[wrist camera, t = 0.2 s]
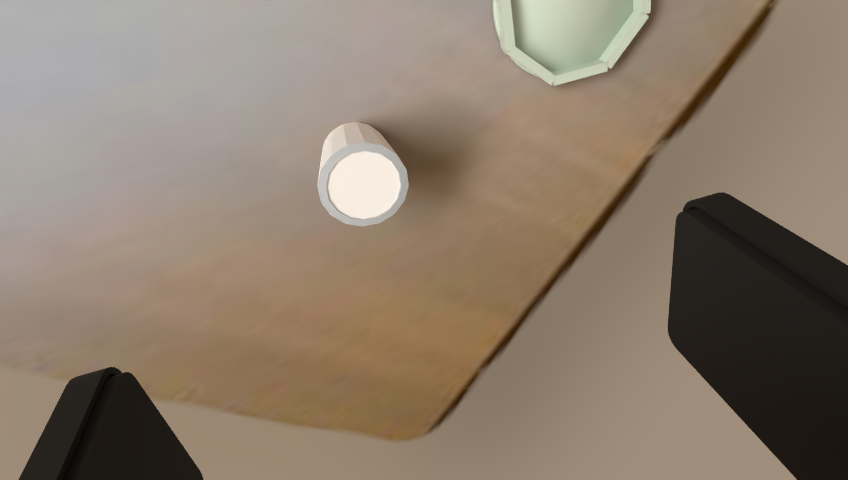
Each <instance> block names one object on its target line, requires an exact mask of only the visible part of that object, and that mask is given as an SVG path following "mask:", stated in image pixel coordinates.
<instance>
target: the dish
mask: <svg viewBox="0 0 848 480" xmlns="http://www.w3.org/2000/svg"><path fill="white" fill-rule="evenodd" d="M648 13H651V0H492V15H493V22H494V27H495V31H496V34H497V37H498V39H499V41H500V44H501V49H503V50H504V51H503V52H504V53H505V54H507V55H508V56H509V57H510V59H511V60H512V61H513V62H514V63H515V64H517V65H518V66H519V67H520V68H522V69H523V70H525V71H527V72H528V73H530V74H532V75H535V76H537V77H539V78H540V79H542V80H543V81H545V82H546V83H548V84H550V85H554V86H556V85H559V84H563V83H567V82H570V81H574V80H577V79H581V78H585V77H588V76H592V75H596V74H599V73H603V72H607V71H608V68H610V69H611V68H612V67H613V65H614V64H615V63H616V61H617V60H618V58H619V57H620V56H621V54H622V53H623V52H624V50H625V49H626V48H627V46H628V45H629V43H630V42H631V41H632V39H633V38H634V37H635V35H636V34H637V33H638V31H639V30H640V28H641V27H642V26H643V24H644V23H645V22H646V20H647V19H648V18H649V16H648V15H646V14H648Z"/></svg>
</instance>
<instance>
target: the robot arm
mask: <svg viewBox="0 0 848 480" xmlns="http://www.w3.org/2000/svg"><path fill="white" fill-rule="evenodd" d="M668 333H669V337H670V339H671V341H672V343H673V345H674V346H675V347H676V349H677V350H678V351H679V352H680V353H681V354H682V355H683V356H684V357H685V358H686V360H687V361H688V362H689V363H690V364H691V365H692V366H693V367H694V368H695V369H696V370H697V372H699V374H700V375H701V376H702V377H703V378H704V379H705V380H706V381H707V382H708V383H709V385H710V386H711V387H712V388H713V389H714V390H715V391H716V392H717V393H718V394H719V395H720V396H721V397H722V398H723V400H724V401H725V402H726V403H727V404H728V405H729V406H730V407H731V408H732V409H733V410H734V412H735V413H736V414H737V415H738V416H739V417H740V418H741V419H742V420H743V421H744V422H745V424H747V426H748V427H749V428H750V429H751V430H752V431H753V432H754V433H755V434H756V435H757V436H758V438H759V439H760V440H761V441H762V442H763V443H764V444H765V445H766V446H767V447H768V448H769V450H770V451H771V452H772V453H773V454H774V455H775V456H776V457H777V458H778V459H779V460H780V461H781V463H782V464H783V465H784V466H785V467H786V468H787V469H788V470H789V471H790V472H791V473H792V474H793V475H794V477H795V478H796V479H797V480H848V265H846V264H844V263H843V262H841V261H839V260H838V259H836V258H834V257H833V256H831V255H829V254H828V253H826V252H824V251H823V250H821V249H819V248H818V247H816V246H814V245H813V244H811V243H809V242H808V241H806V240H804V239H802V238H801V237H799V236H798V235H796V234H794V233H793V232H791V231H789V230H788V229H786V228H784V227H782V226H781V225H779V224H778V223H776V222H774V221H772V220H771V219H769V218H767V217H766V216H764V215H762V214H761V213H759V212H757V211H755V210H754V209H752V208H751V207H749V206H747V205H746V204H744V203H742V202H741V201H739V200H737V199H736V198H734V197H732V196H731V195H729V194H726V193H716V194H712V195H709V196H705V197H702V198H699V199H695V200H691V201H689V202H687V203H686V204H685V206H684V208H683V212H681V213H679V214H678V216H677V218H676V226H675V239H674V252H673V265H672V279H671V291H670V304H669V318H668ZM19 480H203V477H202V474H201V472H200V470H199V469H198V467H197V466H196V464H195V463H194V462H193V460H192V459H191V457H190V456H189V454H188V453H187V452H186V450H185V449H184V447H183V446H182V444H181V443H180V441H179V440H178V438H177V437H176V436H175V434H174V433H173V431H172V430H171V428H170V427H169V425H168V424H167V423H166V421H165V420H164V418H163V417H162V415H161V414H160V412H159V411H158V410H157V408H156V407H155V405H154V404H153V402H152V401H151V400H150V398H149V397H148V395H147V394H146V392H145V391H144V389H143V388H142V387H141V385H140V384H139V382H138V381H137V379H136V378H135V377H134V376H133V375H132V374H131V373H129V372H125V373H122V372H121V371H120V370H119V369H117V368H115V367H109V368H105V369H102V370H98V371H95V372H92V373H88V374H85V375H81V376H78V377H75V378H73V379H71V380H70V381H69V383H68V384H67V385H66V387H65V389H64V391H63V393H62V395H61V397H60V399H59V401H58V403H57V405H56V407H55V409H54V411H53V413H52V415H51V417H50V419H49V421H48V423H47V425H46V427H45V429H44V431H43V433H42V435H41V437H40V439H39V441H38V443H37V445H36V447H35V448H34V450H33V452H32V454H31V456H30V458H29V460H28V462H27V464H26V466H25V468H24V470H23V472H22V474H21V476H20V478H19Z"/></svg>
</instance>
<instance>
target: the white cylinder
mask: <svg viewBox="0 0 848 480" xmlns="http://www.w3.org/2000/svg"><path fill="white" fill-rule="evenodd" d="M317 187H318V191H319V196H320V200H321V203H322V204H323V206H324V207H325V208H326V209H327V211H328V212H329V213H330V215H331V216H333V217H335V218H336V219H338V220H340V221H342V222H344V223H345V224H350V225H357V226H367V225H372V224H377V223H380V222H382V221H384V220H385V219H387V218H389V217H390V216H392V215H394V214H395V212H396V211H397V210H398V209H399V207H400V206H401V205H402V204H403V202H404V201H405V197H406V194H407V190H408V187H409V184H408V176H407V169H406V168H405V166H404V165H403V163H402V162H401V160H400V158H399V157H398V155H397V154H396V153H395V151H394V150H393V149H392V148H391V146H390V145H389V144H388V143H387V141H386V140H385V139H384V137H383V136H382V135H381V134H380V132H379V131H377V130H376V129H374V128H373V127H371V126H370V125H368V124H364V123H359V122H352V123H346V124H342V125H340V126H339V127H337V128H336V129H334V130H332V131H331V133H330V134H329V135H328V137H327V138H326V140H325V141H324V145H323V150H322V156H321V163H320V171H319V178H318V185H317Z"/></svg>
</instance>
